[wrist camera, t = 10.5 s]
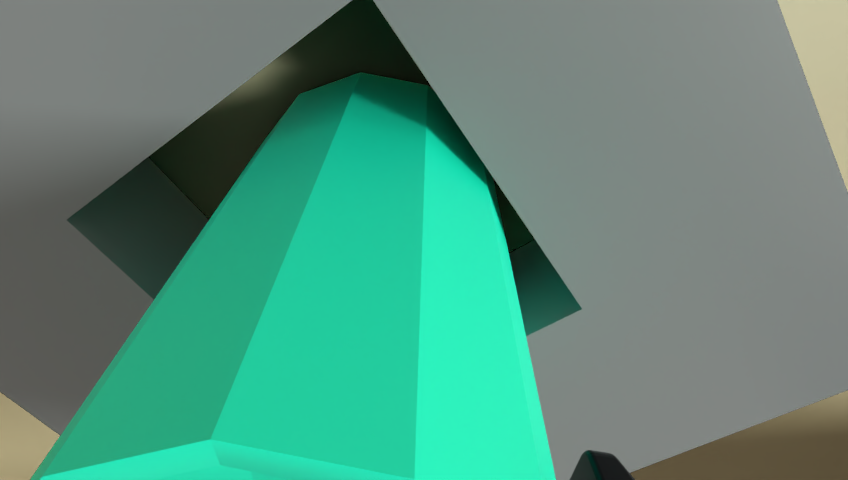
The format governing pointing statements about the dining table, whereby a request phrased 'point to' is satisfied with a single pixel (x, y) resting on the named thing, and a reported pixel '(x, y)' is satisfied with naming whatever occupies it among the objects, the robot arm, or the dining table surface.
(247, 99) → the dining table surface
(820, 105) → the dining table surface
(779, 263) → the socket block
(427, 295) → the candle
